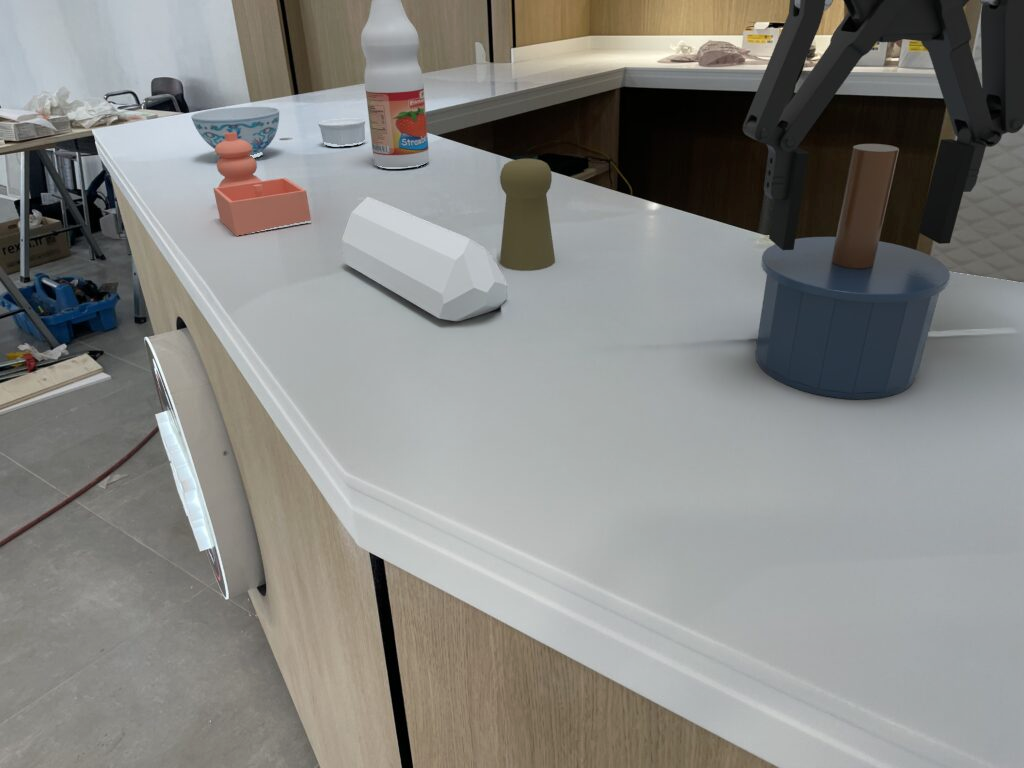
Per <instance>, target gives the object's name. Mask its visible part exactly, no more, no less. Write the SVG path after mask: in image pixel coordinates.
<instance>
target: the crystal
mask: <svg viewBox="0 0 1024 768" xmlns="http://www.w3.org/2000/svg"><path fill="white" fill-rule="evenodd" d="M341 249H342V256H343V257H342V258H343V259H342V260H343V263H344V264H345V265H347V266H348V267H350V268H352V269H354V270H356V271H357V272H359V273H361V274H362V275H364V276H366V277H367V278H369V279H371V280H373V281H374V282H376V283H377V284H379V285H381V286H383V287H384V288H386V289H388V290H389V291H391V292H393V293H394V294H396V295H398V296H400V297H402V298H403V299H405V300H407V301H408V302H410V303H412V304H413V305H415V306H417V307H419V308H420V309H422V310H423V311H425V312H427V313H429V314H430V315H432V316H434V317H436V318H437V319H440V320H445V321H453V322H461V321H465V320H468V319H472V318H475V317H477V316H481V315H484V314H488V313H491V312H493V311H496V310H497V309H499V308H500V307H501V306H502V304H504V302H505V301H506V300H507V299H508V287H509V285H508V283H507V281H506V278H505V276H504V274H503V273H502V271H501V270H500V268H499V266H498V264H497V262H496V261H495V259H494V258H493V256H492V255H491V253H490V252H489V250H487V249H486V248H485V247H483V246H482V245H481V244H479V243H478V242H476V241H475V240H473V239H472V238H470V237H467V236H464V235H463V234H460V233H458V232H455V231H453V230H450V229H447V228H445V227H444V226H440V225H438V224H435V223H434V222H430V221H428V220H425V219H423V218H422V217H420V216H419V217H418V216H417V215H414V214H412V213H408V212H406V211H404V210H401V209H399V208H398V207H397V208H396V207H395V206H392V205H390V204H387V203H385V202H382V201H380V200H377V199H375V198H372V197H371V196H367V197H365V198H364V200H363V201H361V203H360V204H358V205H357V206H356V207H355V208H354V209H353V210H352V211H351V213H350V216H349V218H348V221H347V225H346V227H345V229H344V232H343V235H342V238H341Z"/></svg>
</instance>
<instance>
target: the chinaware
mask: <svg viewBox="0 0 1024 768" xmlns="http://www.w3.org/2000/svg"><path fill="white" fill-rule="evenodd" d="M190 119H191V121H192V124H193V125H194V127H195V129H196V131H197V133H198V134H199V136H200V137H201V138H202V140H204V142H206V143H207V145H209V146H210V147H211V148H212V149H214V150H215V147H216V146H217V145H218V144H219V143H220V142H223V141H226V140H225V135H224V133H228V132H237V137H238V140H244V141H246V142H248V143H249V144H251V146H252V151H251V153H250V154H248V155H254V154H257V153H260V152H262V151H263V152H264V150H266V148H268V146H269V145H271V143H272V142H273V140H274V138H275V137H276V134H277V132H278V129H279V125H280V124H279V123H280V109H279V108H277V107H271V106H235V107H226V108H225V107H224V108H216V109H210V110H209V109H208V110H204V111H200V112H196V113H193V114H191V116H190Z"/></svg>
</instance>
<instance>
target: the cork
mask: <svg viewBox="0 0 1024 768" xmlns="http://www.w3.org/2000/svg"><path fill="white" fill-rule="evenodd" d="M501 168H502V169H501V171H500V175H499V182H500V186H501V189H502V191H503V192H504V194H505V204H504V205H505V206H504V215H503V216H504V217H503V225H502V235H501V246H500V256H499V264H500V266H501V267H503V268H505V269H508V270H512V271H521V272H524V271H525V272H527V271H528V272H531V271H540V270H544V269H548V268H550V267H553V265H554V264H555V263H556V257H555V250H554V241H553V233H552V228H551V219H550V213H549V212H550V211H549V205H548V196H547V193H548V192H549V191H550V189H551V186H552V177H553V176H552V169H551V168H550V166H549V164H548V162H545V161H543V160H541V159H536V158H518V159H513V160H510V161H508V162H506V163H504V164H503V167H501Z"/></svg>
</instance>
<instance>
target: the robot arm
mask: <svg viewBox="0 0 1024 768" xmlns="http://www.w3.org/2000/svg"><path fill="white" fill-rule="evenodd" d="M842 1H843V2H844V5H845V7H846V9H847V11H848V12H847V14H846V15H845V16H844V17H843V19H842V21H841V22H840V23H839V24H838V26H837V28H836V29H835V31H834V32H833V33H832V35H831V37H830V42H829V44H828V46H827V48H826V49H825V50H824V51H823V54H822V55H821V56H820V58H819V59H818V61H817V62H816V64H814V66H813V68H812V69H811V71H810V72H809V73H808V75H807V76H806V78H805V79H804V81H803V82H802V84H801V86H800V87H799V88H798V90H797V91H796V93H795V94H794V95H793V97H792V99H791V100H790V101H789V98H790V96H791V93H792V91H793V89H794V87H795V84H796V82H797V80H798V78H799V75H800V73H801V71H802V68H803V65H804V64H805V61H806V59H807V56H808V54H809V51H810V49H811V47H812V44H813V43H814V40H815V37H816V36H817V33H818V31H819V28H820V26H821V23H822V20H823V15H824V12H825V11H826V10H828V9H829V8H831V6H832V4H833V2H834V0H789V4H788V14H787V16H786V19H785V22H784V24H783V26H782V28H781V30H780V34H779V36H778V38H777V41H776V44H775V45H774V49H773V50H772V53H771V55H770V58H769V60H768V63H767V65H766V68H765V70H764V72H763V75H762V78H761V80H760V83H759V84H758V88H757V90H756V92H755V94H754V98H753V99H752V102H751V104H750V107H749V110H748V112H747V114H746V117H745V119H744V122H743V124H742V132H743V134H744V135H745V136H747V137H749V138H750V139H752V140H755V141H756V142H758V143H761V144H764V145H766V146H767V150H768V151H767V160H766V168H765V176H764V183H763V190H764V194H765V196H766V197H768V198H769V199H771V200H773V207H772V215H771V220H770V221H771V222H770V229H769V236H768V239H769V241H771V242H772V243H774V245H775V244H776V245H777V246H778V247H780V248H781V249H782V250H794V244H795V239H797V238H796V237H797V231H798V226H799V218H800V212H801V207H802V202H803V201H802V200H803V194H804V188H805V183H806V175H807V171H808V170H807V169H808V163H809V157H810V152H808V151H806V150H804V149H802V148H800V147H799V146H800V144H801V143H802V141H803V140H804V138H805V137H806V136H807V134H808V133H809V131H810V130H811V129H812V127H813V125H815V123H816V121H818V119H819V118H820V116H821V115H822V113H823V112H824V110H825V109H826V108H827V107H828V105H829V103H830V102H831V101H832V100H833V98H834V96H835V95H836V94H837V93H838V91H839V90H840V88H841V87H842V85H843V84H844V83H845V81H846V80H847V78H848V77H849V75H850V74H851V72H852V71H853V70H854V69H855V68H856V65H857V64H858V63H859V62H860V60H861V59H862V58H863V57H864V56H866V55H867V54H869V53H870V52H871V50H872V49H873V48H874V47H875V45H876V44H877V43H896V42H899V41H902V40H906V41H907V40H908V41H916V42H921V44H922V47H924V49H926V51H927V52H928V55H929V58H930V61H931V64H932V67H933V71H934V73H935V77H936V80H937V82H938V86H939V88H940V92H941V95H942V98H943V101H944V104H945V108H946V110H947V113H948V116H949V117H948V118H949V120H950V123H951V126H952V129H953V132H954V135H955V136H956V140H955V139H953V138H946V139H945V138H943V139H942V138H941V139H940V141H939V147H938V150H937V154H936V158H935V162H934V167H933V171H932V175H931V179H930V183H929V187H928V190H927V191H928V192H927V195H926V200H925V203H924V208H923V212H922V216H921V220H920V224H919V229H918V234H920V235H922V236H925V237H926V238H928V239H930V240H931V241H933V242H935V243H937V244H939V245H942V244H950V243H951V240H952V236H953V234H954V230H955V225H956V221H957V218H958V213H959V211H960V206H961V203H962V198H963V195H964V193H971V192H972V190H973V189H974V188H975V186H976V184H977V180H978V178H979V177H978V176H979V173H980V169H981V166H982V162H983V158H984V155H985V151H986V148H992V147H995V146H996V145H997V144H999V143H1000V142H1001V140H1002V137H1003V135H1005V134H1007V133H1010V134H1015V133H1018V132H1020V130H1021V129H1023V127H1024V0H979V2H980V3H981V4H982V5H981V10H980V51H981V79H980V76H979V73H978V69H977V66H976V62H975V59H974V56H973V52H972V48H971V46H970V41H971V40H972V33H971V29H970V26H969V23H968V19H967V15H966V12H965V9H964V7H965V6H966V5H967V4H968V3H969V1H970V0H842ZM788 101H789V103H788ZM787 103H788V104H787Z"/></svg>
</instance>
